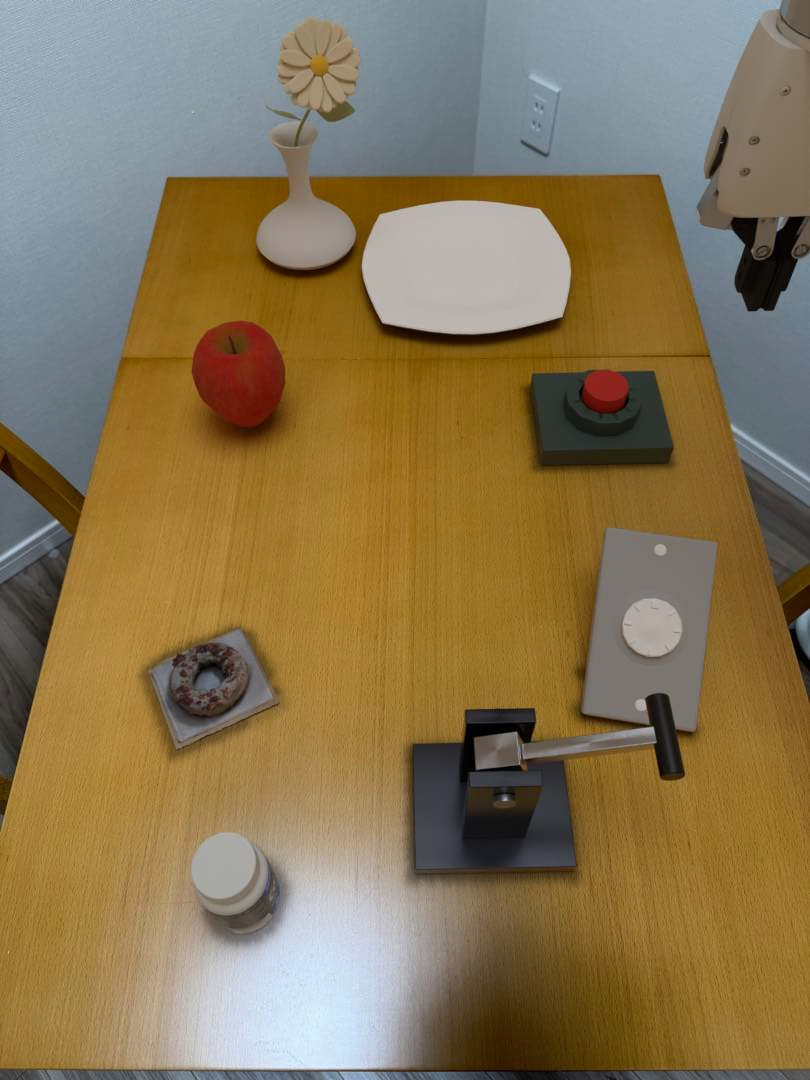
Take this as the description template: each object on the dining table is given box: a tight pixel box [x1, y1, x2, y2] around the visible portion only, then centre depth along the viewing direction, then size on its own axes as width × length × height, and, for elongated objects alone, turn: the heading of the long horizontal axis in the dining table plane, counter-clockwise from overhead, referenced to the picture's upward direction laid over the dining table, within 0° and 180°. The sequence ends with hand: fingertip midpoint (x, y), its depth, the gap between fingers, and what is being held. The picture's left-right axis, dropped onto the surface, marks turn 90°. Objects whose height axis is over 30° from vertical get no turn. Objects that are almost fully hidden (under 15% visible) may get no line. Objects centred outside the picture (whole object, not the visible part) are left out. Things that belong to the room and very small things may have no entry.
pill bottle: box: [190, 831, 281, 935], centre depth 55 cm, size 5×5×8 cm
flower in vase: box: [255, 16, 361, 271], centre depth 89 cm, size 13×11×25 cm
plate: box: [361, 200, 572, 336], centre depth 95 cm, size 23×23×2 cm
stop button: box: [582, 369, 629, 414], centre depth 79 cm, size 4×4×2 cm
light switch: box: [580, 526, 719, 733], centre depth 67 cm, size 8×6×14 cm
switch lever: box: [474, 693, 686, 782], centre depth 52 cm, size 12×5×2 cm, turn 91°
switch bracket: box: [412, 707, 578, 875], centre depth 57 cm, size 11×9×12 cm
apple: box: [190, 320, 286, 429], centre depth 80 cm, size 9×8×11 cm
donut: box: [147, 627, 280, 750], centre depth 67 cm, size 8×8×2 cm
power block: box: [529, 369, 675, 466], centre depth 81 cm, size 12×10×4 cm
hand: (755, 297), depth 57 cm, fingers closed
